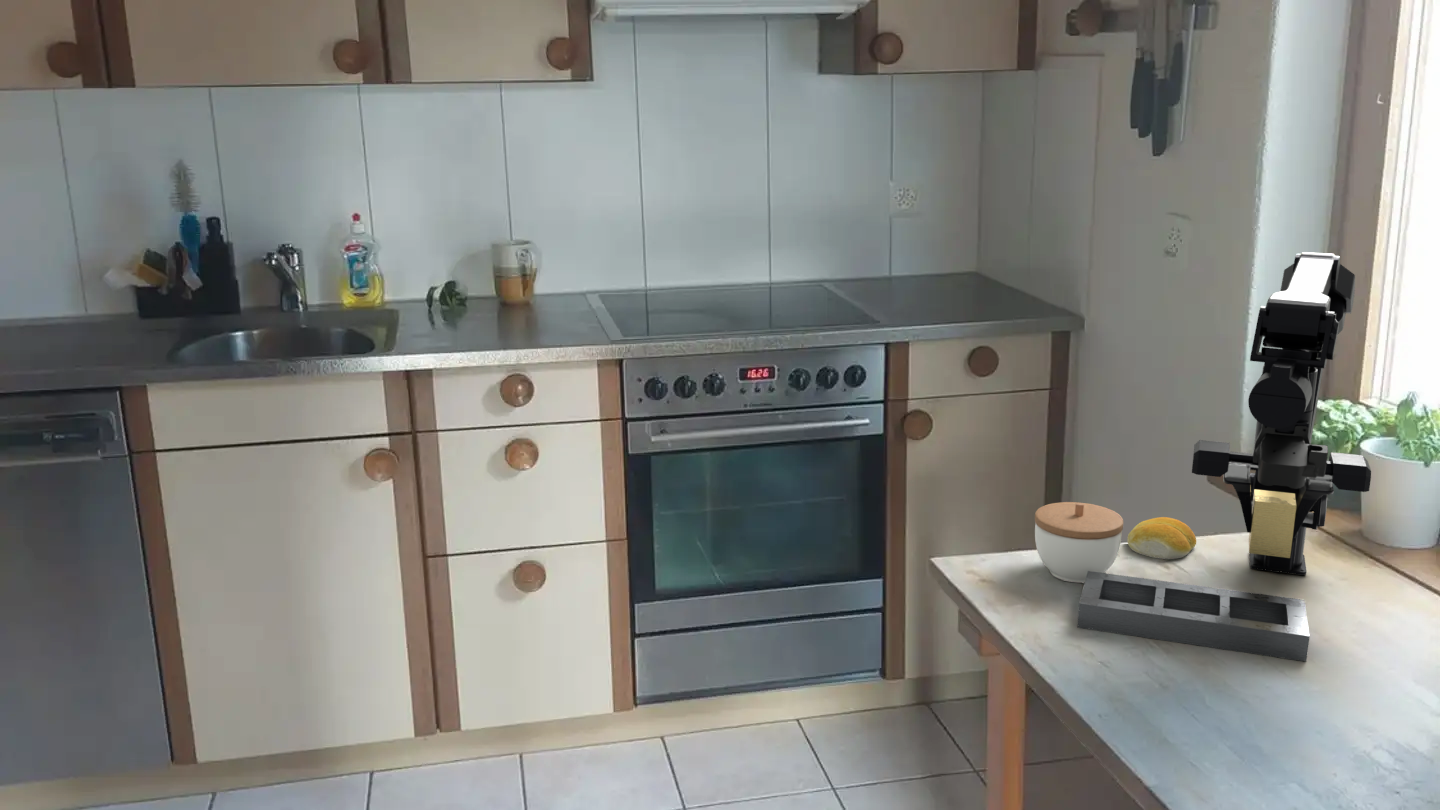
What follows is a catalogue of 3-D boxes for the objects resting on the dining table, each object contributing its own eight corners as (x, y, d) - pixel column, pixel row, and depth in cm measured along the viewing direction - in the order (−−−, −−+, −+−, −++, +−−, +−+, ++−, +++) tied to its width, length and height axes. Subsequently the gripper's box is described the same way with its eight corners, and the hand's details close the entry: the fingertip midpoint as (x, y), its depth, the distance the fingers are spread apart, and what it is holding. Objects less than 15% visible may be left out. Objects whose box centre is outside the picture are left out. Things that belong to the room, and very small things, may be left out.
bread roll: (1201, 544, 167) (1204, 516, 166) (1181, 566, 160) (1184, 537, 159) (1139, 531, 172) (1142, 504, 170) (1118, 552, 165) (1120, 523, 163)
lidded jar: (1101, 555, 163) (1106, 488, 160) (1132, 589, 152) (1138, 517, 150) (1020, 558, 162) (1025, 490, 160) (1046, 592, 152) (1051, 520, 149)
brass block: (1248, 540, 149) (1254, 489, 148) (1288, 544, 148) (1294, 493, 146) (1249, 553, 145) (1254, 500, 144) (1290, 558, 144) (1296, 505, 142)
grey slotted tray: (1086, 593, 151) (1087, 570, 150) (1301, 623, 143) (1304, 599, 142) (1077, 627, 142) (1078, 603, 142) (1306, 661, 134) (1309, 636, 133)
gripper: (1197, 417, 138) (1184, 547, 142) (1384, 433, 131) (1365, 570, 136) (1199, 393, 148) (1187, 515, 152) (1373, 407, 141) (1356, 535, 146)
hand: (1270, 534), depth 146 cm, fingers closed on brass block, 4 cm apart
